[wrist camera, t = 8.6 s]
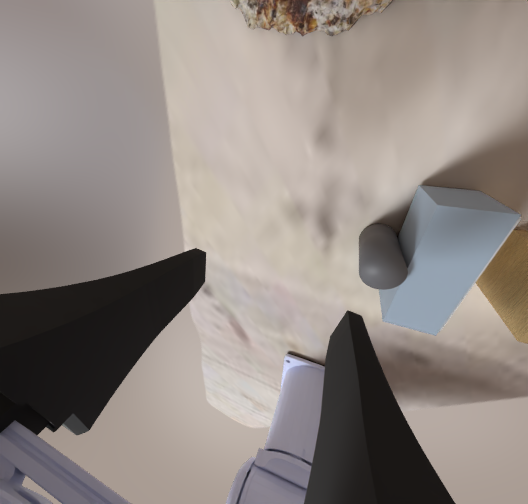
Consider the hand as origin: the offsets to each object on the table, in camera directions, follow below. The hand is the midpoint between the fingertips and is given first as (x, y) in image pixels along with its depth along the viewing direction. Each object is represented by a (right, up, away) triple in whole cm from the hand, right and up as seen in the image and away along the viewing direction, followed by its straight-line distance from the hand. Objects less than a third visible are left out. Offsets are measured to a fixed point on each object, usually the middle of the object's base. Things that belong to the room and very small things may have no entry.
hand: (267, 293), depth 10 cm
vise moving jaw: (+9, +3, +4) cm, 11 cm away
